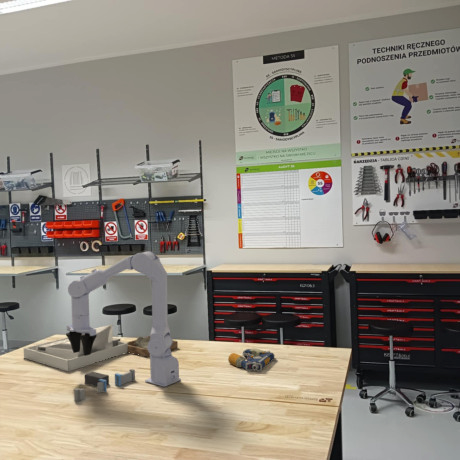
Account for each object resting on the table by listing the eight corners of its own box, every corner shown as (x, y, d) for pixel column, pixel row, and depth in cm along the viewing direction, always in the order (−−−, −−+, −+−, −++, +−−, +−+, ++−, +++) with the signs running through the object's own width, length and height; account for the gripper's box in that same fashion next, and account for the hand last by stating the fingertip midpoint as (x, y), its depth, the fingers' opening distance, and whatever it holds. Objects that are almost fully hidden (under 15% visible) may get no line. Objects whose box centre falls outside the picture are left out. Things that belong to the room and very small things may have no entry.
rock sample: (142, 346, 182) (142, 329, 188) (132, 356, 185) (133, 338, 192) (164, 353, 187) (163, 336, 194) (154, 362, 190) (154, 345, 197)
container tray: (128, 352, 187) (127, 343, 187) (67, 371, 165) (67, 360, 165) (83, 342, 206) (83, 333, 206) (23, 357, 184) (23, 348, 184)
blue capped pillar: (136, 380, 154) (135, 369, 154) (78, 402, 136) (78, 390, 136) (131, 378, 155) (130, 368, 155) (73, 400, 137) (73, 388, 137)
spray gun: (220, 370, 163) (259, 375, 157) (220, 358, 163) (259, 363, 157) (242, 355, 182) (277, 359, 176) (242, 344, 182) (277, 348, 176)
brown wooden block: (177, 348, 192) (177, 341, 192) (149, 357, 179) (149, 350, 179) (150, 342, 203) (149, 335, 203) (121, 351, 190) (121, 344, 190)
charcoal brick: (109, 384, 151) (108, 375, 151) (101, 388, 148) (100, 378, 148) (92, 380, 155) (92, 371, 155) (84, 383, 152) (84, 374, 152)
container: (35, 358, 179) (35, 328, 180) (81, 347, 201) (81, 320, 202) (77, 364, 169) (77, 332, 170) (120, 351, 192) (120, 323, 193)
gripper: (58, 314, 157) (59, 353, 157) (83, 318, 148) (84, 359, 149) (76, 311, 163) (77, 348, 163) (100, 315, 154) (102, 354, 154)
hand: (81, 353), depth 156 cm, fingers open, 6 cm apart
